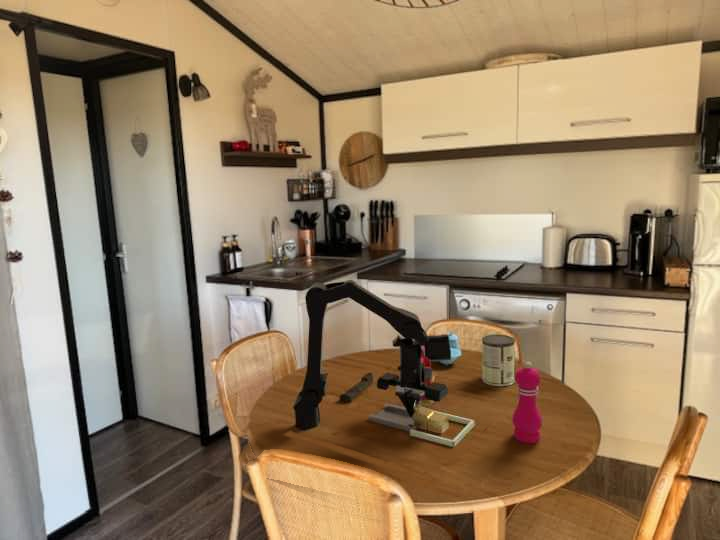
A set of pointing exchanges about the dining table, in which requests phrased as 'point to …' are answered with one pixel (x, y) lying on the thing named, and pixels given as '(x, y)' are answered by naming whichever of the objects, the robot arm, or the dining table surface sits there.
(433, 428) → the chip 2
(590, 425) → the dining table surface
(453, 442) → the tray
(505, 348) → the coffee can
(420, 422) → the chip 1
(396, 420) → the slot rail
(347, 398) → the wooden stick
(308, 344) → the robot arm
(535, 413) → the pepper mill
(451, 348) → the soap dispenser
